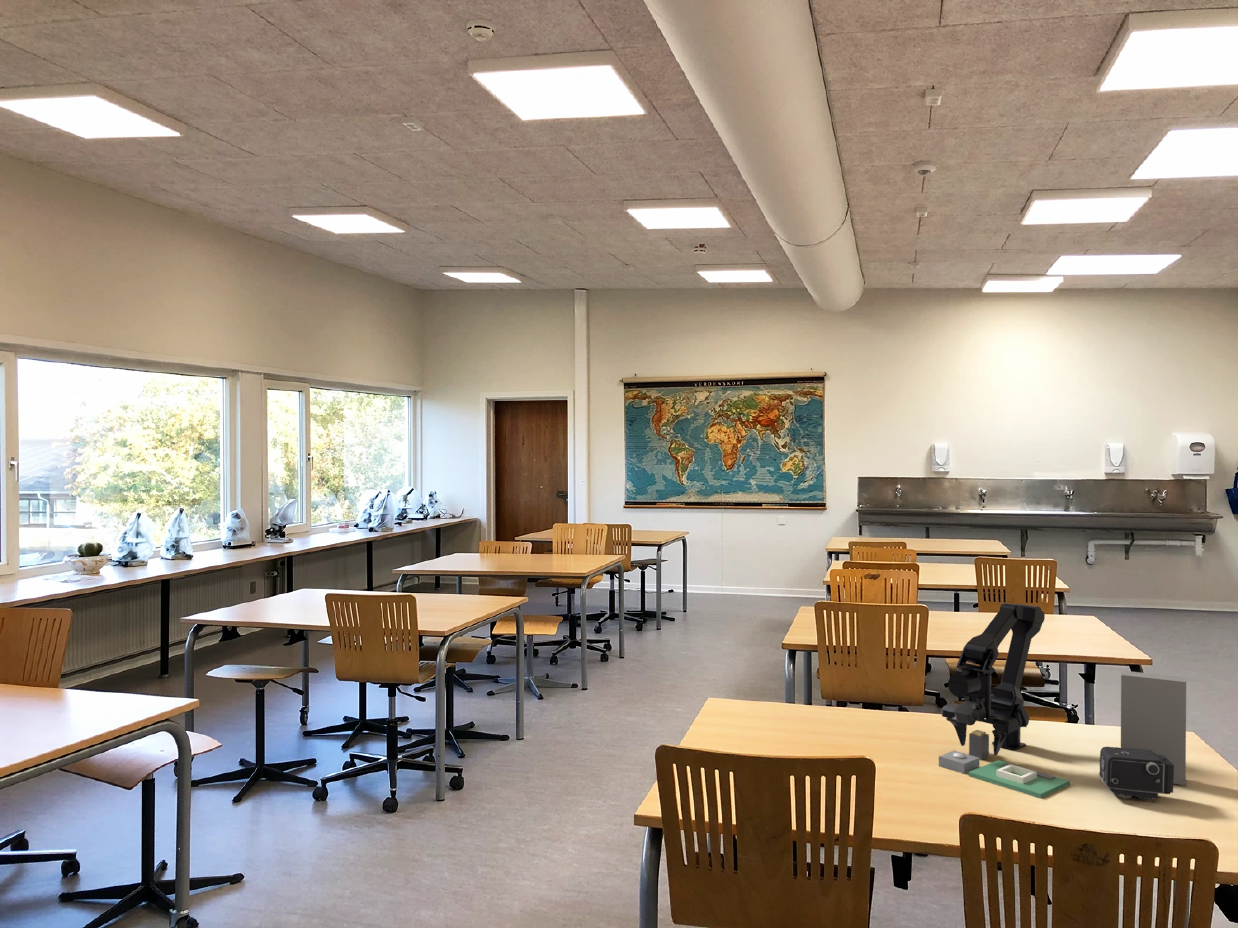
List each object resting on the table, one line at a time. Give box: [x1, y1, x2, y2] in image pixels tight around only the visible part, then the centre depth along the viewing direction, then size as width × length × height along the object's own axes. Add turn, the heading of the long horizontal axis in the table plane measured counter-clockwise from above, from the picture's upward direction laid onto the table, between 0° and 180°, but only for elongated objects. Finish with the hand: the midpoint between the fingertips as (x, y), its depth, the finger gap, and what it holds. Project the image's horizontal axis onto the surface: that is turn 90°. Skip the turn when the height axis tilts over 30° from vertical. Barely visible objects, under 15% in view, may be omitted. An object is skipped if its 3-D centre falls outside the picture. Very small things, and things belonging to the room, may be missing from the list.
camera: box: [1098, 746, 1174, 802], centre depth 205 cm, size 10×11×14 cm
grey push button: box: [938, 750, 980, 775], centre depth 225 cm, size 7×7×3 cm
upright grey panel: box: [1120, 670, 1187, 786], centre depth 218 cm, size 14×6×25 cm, turn 59°
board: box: [968, 759, 1071, 799], centre depth 216 cm, size 14×18×2 cm
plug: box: [968, 729, 990, 761], centre depth 233 cm, size 4×4×7 cm
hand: (979, 750), depth 233 cm, fingers open, 9 cm apart
